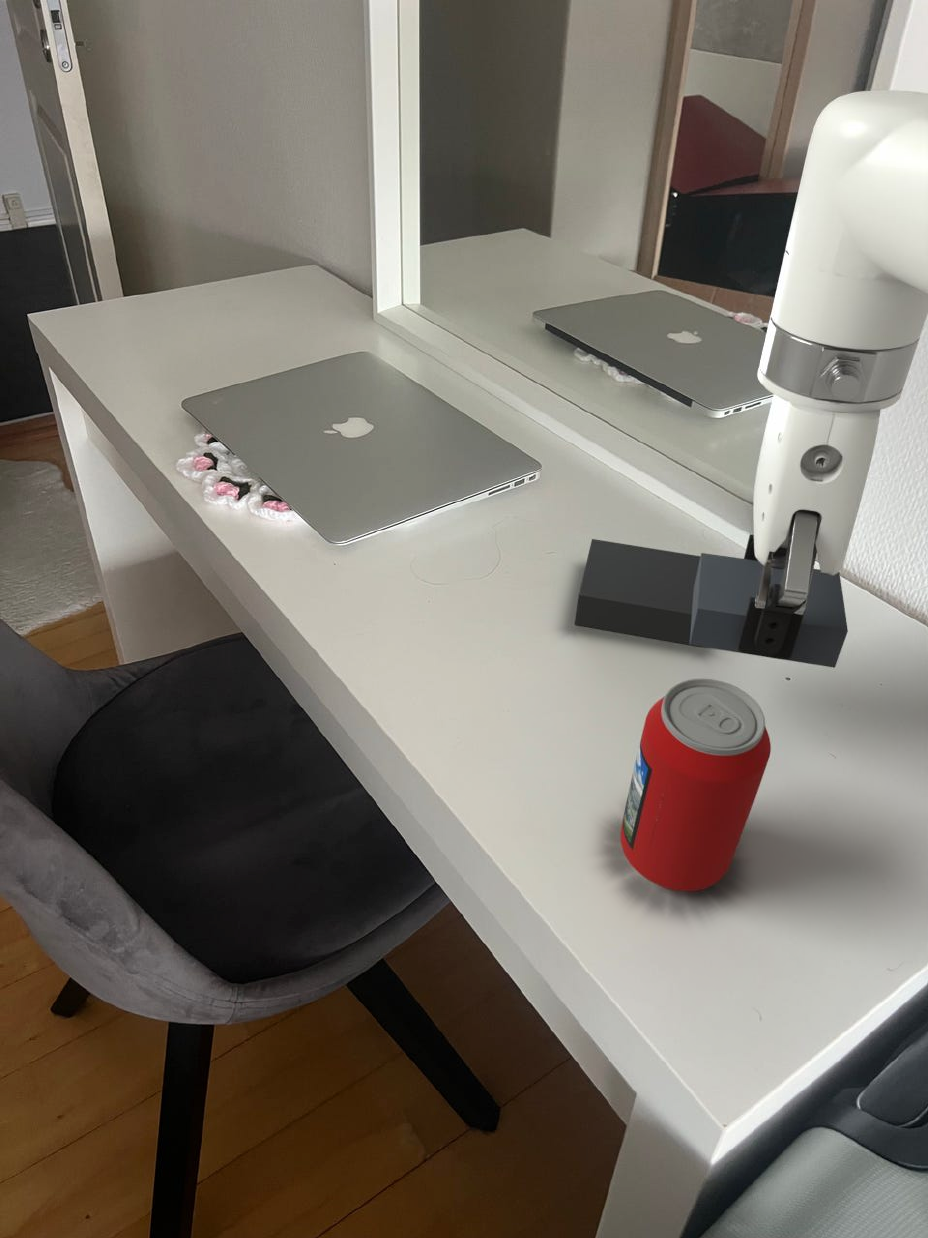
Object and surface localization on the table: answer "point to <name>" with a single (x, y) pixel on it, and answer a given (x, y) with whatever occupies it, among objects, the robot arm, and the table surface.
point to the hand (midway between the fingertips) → (762, 617)
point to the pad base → (638, 591)
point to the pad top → (736, 580)
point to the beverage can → (694, 783)
